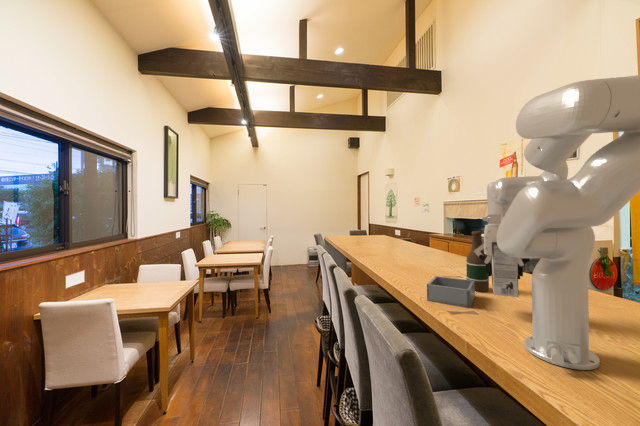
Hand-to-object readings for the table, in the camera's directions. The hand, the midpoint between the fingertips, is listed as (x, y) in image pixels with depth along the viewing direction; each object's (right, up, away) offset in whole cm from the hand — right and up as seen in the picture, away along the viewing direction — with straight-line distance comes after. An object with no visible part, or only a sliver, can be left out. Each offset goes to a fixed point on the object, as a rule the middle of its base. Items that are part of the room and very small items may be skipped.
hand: (504, 276), depth 82 cm
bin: (-9, -12, +15) cm, 21 cm away
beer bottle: (+7, -12, +25) cm, 28 cm away
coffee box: (0, -5, 0) cm, 5 cm away
